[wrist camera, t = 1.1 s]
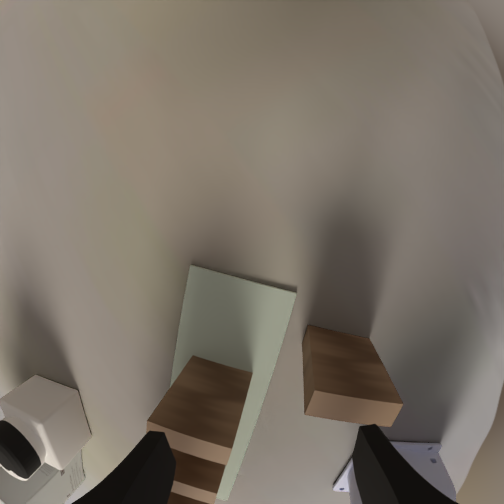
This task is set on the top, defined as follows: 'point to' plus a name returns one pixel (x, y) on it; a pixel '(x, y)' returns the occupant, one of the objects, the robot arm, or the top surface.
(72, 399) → the medicine bottle
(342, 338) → the end domino
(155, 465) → the robot arm
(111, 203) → the top surface
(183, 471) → the domino
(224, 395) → the domino
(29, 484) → the skincare box
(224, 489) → the domino mat
